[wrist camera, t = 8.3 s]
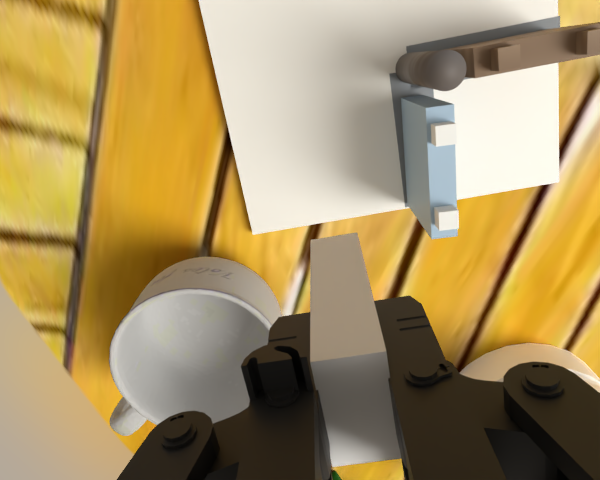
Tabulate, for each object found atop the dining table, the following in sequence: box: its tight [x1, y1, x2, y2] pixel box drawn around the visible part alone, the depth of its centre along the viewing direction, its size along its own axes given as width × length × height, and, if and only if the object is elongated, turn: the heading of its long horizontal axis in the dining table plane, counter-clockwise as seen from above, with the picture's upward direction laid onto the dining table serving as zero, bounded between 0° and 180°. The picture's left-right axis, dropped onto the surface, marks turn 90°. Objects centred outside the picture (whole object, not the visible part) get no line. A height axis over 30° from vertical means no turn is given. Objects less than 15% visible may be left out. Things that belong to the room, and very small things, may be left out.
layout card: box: [199, 0, 560, 235], centre depth 31 cm, size 16×21×1 cm
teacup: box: [109, 257, 282, 436], centre depth 34 cm, size 14×11×8 cm
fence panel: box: [401, 95, 459, 239], centre depth 28 cm, size 1×7×8 cm, turn 8°
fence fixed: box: [395, 22, 600, 91], centre depth 26 cm, size 2×9×9 cm, turn 100°
